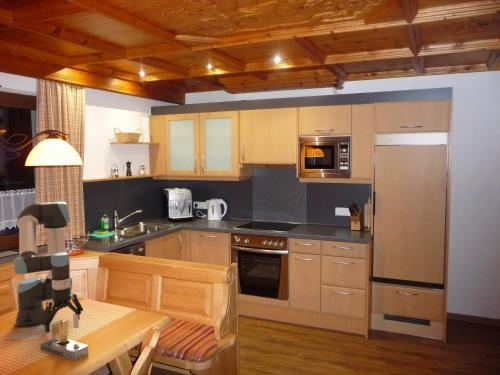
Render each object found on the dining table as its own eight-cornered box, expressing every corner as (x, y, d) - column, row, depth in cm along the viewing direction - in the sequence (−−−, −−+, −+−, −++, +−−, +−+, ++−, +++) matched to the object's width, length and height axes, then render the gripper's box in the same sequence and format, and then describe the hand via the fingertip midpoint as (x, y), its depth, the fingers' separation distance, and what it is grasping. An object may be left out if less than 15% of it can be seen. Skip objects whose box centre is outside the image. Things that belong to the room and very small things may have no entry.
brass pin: (58, 352, 188) (57, 322, 187) (65, 349, 191) (63, 319, 190) (63, 353, 187) (62, 323, 186) (69, 350, 190) (68, 320, 189)
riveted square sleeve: (40, 348, 192) (40, 339, 192) (54, 342, 198) (54, 333, 198) (74, 360, 180) (74, 350, 180) (88, 354, 186) (87, 344, 186)
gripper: (40, 297, 174) (42, 345, 176) (90, 281, 196) (91, 324, 198) (29, 294, 178) (32, 342, 180) (79, 278, 200) (81, 321, 201)
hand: (63, 333), depth 189 cm, fingers open, 13 cm apart
